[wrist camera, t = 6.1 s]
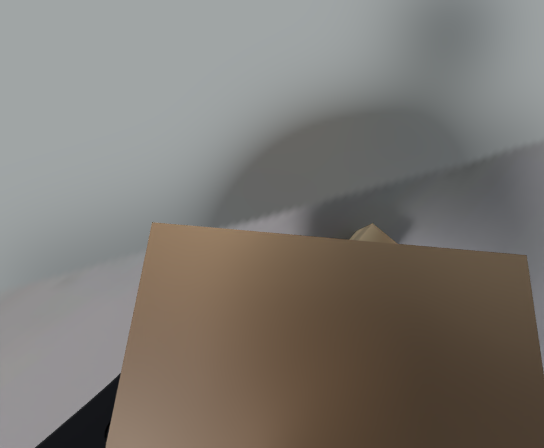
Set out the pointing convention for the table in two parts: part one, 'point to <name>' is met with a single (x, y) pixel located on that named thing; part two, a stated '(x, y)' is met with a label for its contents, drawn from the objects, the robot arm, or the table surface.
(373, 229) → the cube
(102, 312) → the table surface
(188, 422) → the walnut block
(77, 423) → the robot arm
